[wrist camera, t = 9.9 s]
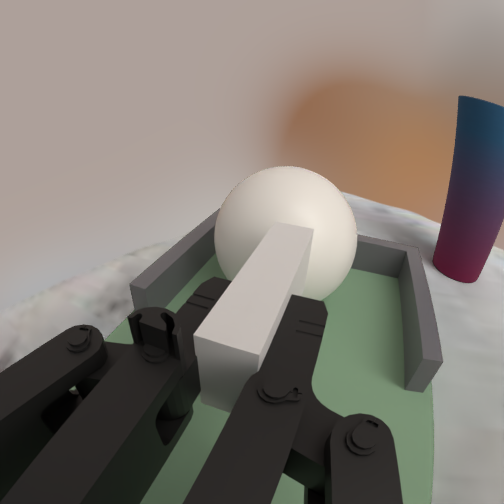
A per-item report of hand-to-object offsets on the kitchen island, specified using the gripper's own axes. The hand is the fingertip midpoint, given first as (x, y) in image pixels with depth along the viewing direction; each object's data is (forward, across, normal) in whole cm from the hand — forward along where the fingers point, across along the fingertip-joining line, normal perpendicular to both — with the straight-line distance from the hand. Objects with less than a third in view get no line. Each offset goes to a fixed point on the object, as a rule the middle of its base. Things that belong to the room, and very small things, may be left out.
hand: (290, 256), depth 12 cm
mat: (-6, 0, -6) cm, 9 cm away
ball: (+4, -1, -1) cm, 4 cm away
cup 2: (+15, +13, -6) cm, 21 cm away
